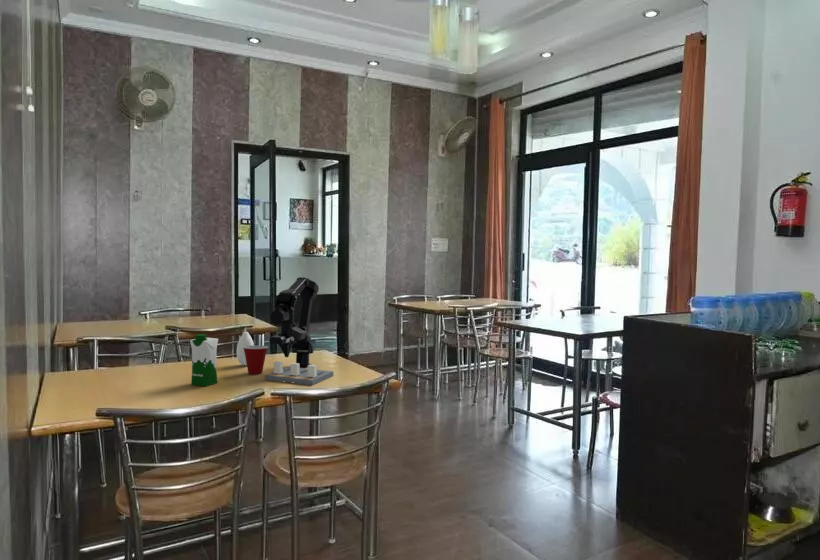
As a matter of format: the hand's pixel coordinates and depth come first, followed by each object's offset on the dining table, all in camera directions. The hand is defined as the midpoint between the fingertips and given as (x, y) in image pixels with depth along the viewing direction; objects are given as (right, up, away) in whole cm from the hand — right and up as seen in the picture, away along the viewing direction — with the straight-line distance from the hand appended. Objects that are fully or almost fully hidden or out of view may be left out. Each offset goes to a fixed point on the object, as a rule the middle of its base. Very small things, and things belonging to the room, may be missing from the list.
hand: (286, 357), depth 242 cm
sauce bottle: (-23, -6, +17) cm, 29 cm away
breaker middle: (+5, -6, -9) cm, 12 cm away
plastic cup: (-14, -7, +2) cm, 16 cm away
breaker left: (+13, -6, -12) cm, 19 cm away
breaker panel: (+7, -8, -5) cm, 12 cm away
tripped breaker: (-2, -6, -7) cm, 9 cm away
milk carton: (-29, -8, -18) cm, 35 cm away
